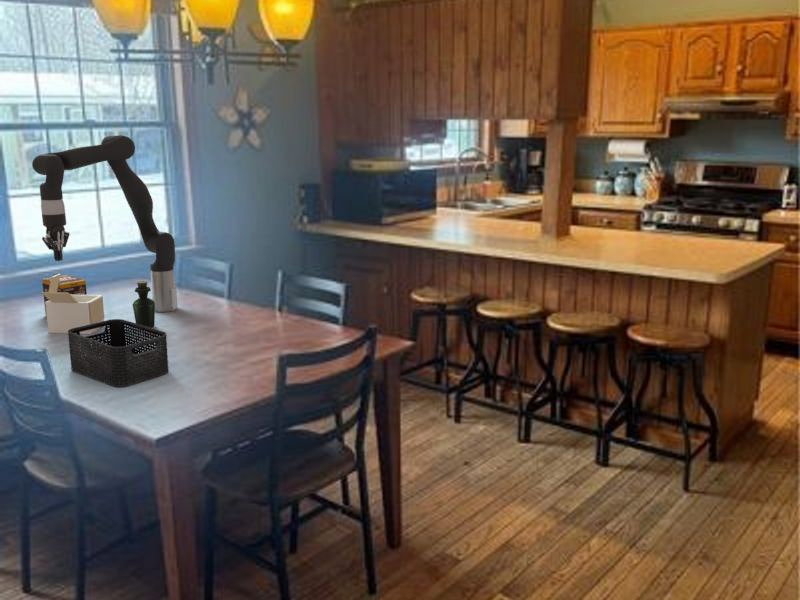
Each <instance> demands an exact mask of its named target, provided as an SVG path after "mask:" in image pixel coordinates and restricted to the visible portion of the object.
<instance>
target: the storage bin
mask: <svg viewBox="0 0 800 600" xmlns="http://www.w3.org/2000/svg"><path fill="white" fill-rule="evenodd" d="M99 327H101V328H103V327H104V330H103V331H102V332H98V333H95V334H90V335H87V336H83V335H82V334H80V332H82V331H87V330H91V329H95V328H99ZM99 329H100V328H99ZM75 333H76V334H75ZM67 336H68V346H69V347H68V348H69V358H70V370H71V371H73V372H76V373H78V374H80V375H83V376H86V377H88V378H90V379H93V380H95V381H97V382H98V381H99V382H101V383H104V384H106V385H108V386H111V387H114V388H127V387H130V385H131V386H133V385H137V384H140V383H142V382H146V381H148V380H152V379H155V378H158V376H159V377H162V376H164V375H167V374H168V373H169V359H168V356H169V354H168V342H167V338H168V337H167V333H166V332H165V331H162V330H159V329H155V328H154V327H153V328H149V327H146V326H142V325H139V324H136V322H132V321H129V320H126V319H121V318H114V319H108V320H104V321H103V322H99V323H94V324H90V325H85V326H81V327H76V328H72V329H70V330H68V333H67Z"/></svg>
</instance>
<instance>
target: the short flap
mask: <svg viewBox="0 0 800 600" xmlns="http://www.w3.org/2000/svg"><path fill="white" fill-rule="evenodd" d="M60 276H61V273H58V274H56V275H52V276H51V277H50V278H51V282H50V287H49V291H48V292H57V288H58V283H59V279H60ZM47 299H48V298H47Z"/></svg>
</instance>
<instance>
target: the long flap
mask: <svg viewBox="0 0 800 600" xmlns="http://www.w3.org/2000/svg"><path fill="white" fill-rule="evenodd" d="M41 294H42V295H43V297H44V296H45V297H47V298H48V299H49V300H50V301H51V302H52V303H78V301H77V300H75V299H74V298H73V297H72V296H71V295H70V294H69V293H68V292H43V291H41Z"/></svg>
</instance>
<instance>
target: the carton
mask: <svg viewBox="0 0 800 600" xmlns="http://www.w3.org/2000/svg"><path fill="white" fill-rule="evenodd" d="M71 296H72V297H73V298H74V299H75V300H77V301H78V303H52V302H51V301H50V300H48V301H46V302H45V303H44V306H45V305H46V314H47V316H46V320H47V321H46V322H47V331H48V334H68V330H70V329H72V328H76V327H81V326H85V325H90V324H94V323H99V322H103V321H105V312H104V311H105V310H104V299H103V298H104V297H103V295H101V294H87V295H71ZM46 314H45V315H46ZM101 328H102V327H99V328H95V329H91V330H87V331H82V332H80V335H82V334H83V335H89V334H90V335H92V334H93V333H94V332H96V331H98V330H99V329H101ZM75 334H76V333H75Z"/></svg>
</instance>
